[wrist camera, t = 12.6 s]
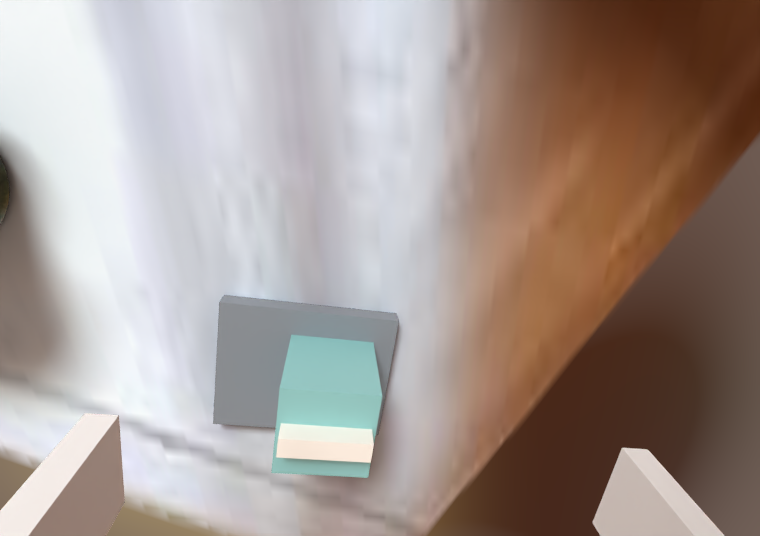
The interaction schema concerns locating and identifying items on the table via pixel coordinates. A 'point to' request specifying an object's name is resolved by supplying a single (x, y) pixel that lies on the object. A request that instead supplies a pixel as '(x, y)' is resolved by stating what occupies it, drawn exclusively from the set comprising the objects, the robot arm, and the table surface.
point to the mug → (3, 190)
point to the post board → (282, 351)
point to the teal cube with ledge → (327, 408)
